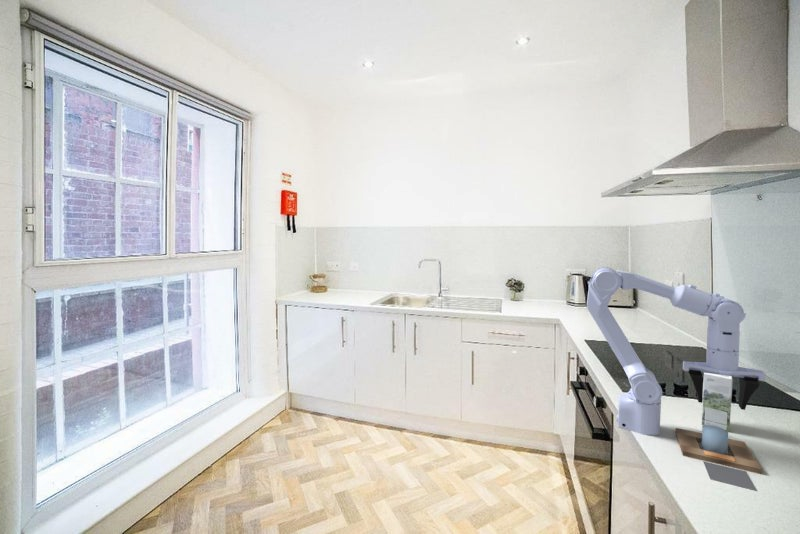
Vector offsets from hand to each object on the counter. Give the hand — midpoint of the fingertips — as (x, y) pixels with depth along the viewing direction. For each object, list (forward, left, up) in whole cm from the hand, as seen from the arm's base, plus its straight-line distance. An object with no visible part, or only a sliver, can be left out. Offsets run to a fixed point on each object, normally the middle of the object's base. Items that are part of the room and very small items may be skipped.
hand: (720, 404), depth 86 cm
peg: (-2, -5, -10) cm, 12 cm away
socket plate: (-2, -5, -10) cm, 12 cm away
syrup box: (+2, +13, -11) cm, 17 cm away
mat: (-1, -15, -10) cm, 18 cm away
